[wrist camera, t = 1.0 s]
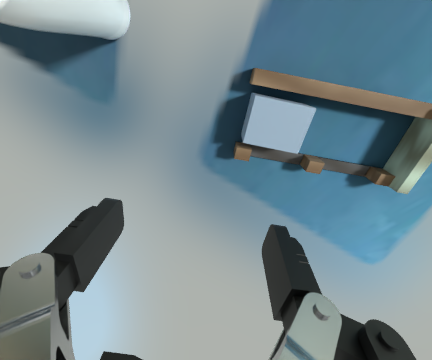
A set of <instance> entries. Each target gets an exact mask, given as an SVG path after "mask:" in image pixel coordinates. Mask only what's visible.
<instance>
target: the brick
mask: <svg viewBox="0 0 432 360" xmlns="http://www.w3.org/2000/svg"><path fill="white" fill-rule="evenodd" d="M315 111H316V108H314V107H312V106H309V105H306V104H303V103H299V102H294V101H289V100H285V99H280V98H275V97H271V96H266V95H261V94H257V93H251V97H250V101H249V105H248V109H247V113H246V117H245V121H244V125H243V128H242V132H241V137H242V141H243V143H246V144H251V145H256V146H261V147H266V148H271V149H276V150H281V151H286V152H291V153H296V154H298V152H299V150H300V147H301V145H302V142H303V140H304V137H305V135H306V133H307V130H308V128H309V125H310V123H311V120H312V118H313V116H314V113H315Z"/></svg>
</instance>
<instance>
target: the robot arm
mask: <svg viewBox="0 0 432 360" xmlns="http://www.w3.org/2000/svg"><path fill="white" fill-rule="evenodd" d="M123 227H124V216H123V206H122V201H121V200H116V199H110V198H105V199H103V200H102V201H101V202H100V204H99V205H98V206H97V207H96V206H92V207H90V208H88V209H86V210H84V211H83V212H81V213H80V214H79V215H78V216H77V217H76V218H75V220H74V221H72V222H71V223H70V224H69V225H68V227H66V228H65V229H64V230H63V231H62V232H61V233H60V234H59V235H58V236H57V237H56V238H55V239H54V240H53V241H52V242H51V243H50V244H49V245H48V246H47V247H46V248H45V249H44V250H43V251H42V252H41V253H35V254H31V255H28V256H26V257H23V258H21V259H19V260H18V261H16V262H14V263H13V264H12V265H11V266H9V267H1V268H0V360H75V358H74V353H73V348H72V339H71V324H70V312H69V311H70V310H69V300H68V298H69V297H70V295H71V294H72V292H73V291H79V292H84V291H85V289H86V288H87V286H88V284H89V283H90V281H91V280H92V278H93V277H94V275H95V274H96V272H97V270H98V269H99V267H100V266H101V264H102V263H103V261H104V260H105V258H106V256H107V255H108V253H109V252H110V250H111V249H112V247H113V245H114V244H115V242H116V241H117V239H118V238H119V236H120V234H121V233H122V230H123ZM262 258H263V264H264V269H265V274H266V280H267V285H268V291H269V296H270V302H271V307H272V312H273V318H274V320H279V321H282V322H283V326H284V330H283V331H282V333H281V335H280V337H279V339H278V341H277V343H276V345H275V347H274V349H273V351H272V353H271V355H270V358H269V360H416V358H415V357H414V355H413V353H412V352H411V350H410V348H409V347H408V345H407V344H406V342H405V341H404V339H403V338H402V337H401V336H400V335H399V334H398V333H397V332H396V331H395V330H394V329H393V328H391V327H390V326H389V325H387V324H385V323H384V322H381V321H379V320H374V319H373V320H369V321H368V322H367V323H365V324H361V323H359V322H357V321H355V320H353V319H351V318H348V317H346V316H344V315H342V314H340V313H339V311H338V309H337V308H336V306H335V305H334V304H333V303H332V302H331V301H330V300H329V299H328V298H326V297H325V296H323V295H322V293H321V291H320V289H319V286H318V284H317V282H316V279H315V277H314V274H313V272H312V269H311V267H310V265H309V264H308V263H309V262H308V260H307V257H305V253H304V250H303V248H302V246H301V245H300V243H299V242H298V241H297V240H296V239H295V238H292V237H290V235H289V232H288V230H287V228H286V227H285V226H279V225H273V224H272V225H270V227H269V230H268V232H267V235H266V237H265V240H264V243H263V246H262ZM100 360H142V359H140V358H138V357H136V356H134V355H127V354H120V353H112V352H105V351H104V352H103V354H102V356H101V359H100Z"/></svg>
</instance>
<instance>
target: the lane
mask: <svg viewBox="0 0 432 360" xmlns="http://www.w3.org/2000/svg"><path fill="white" fill-rule="evenodd" d="M250 83H251V84H254V85H259V86H264V87H269V88H274V89H279V90H285V91H290V92H295V93H300V94H305V95H310V96H315V97H320V98H325V99H330V100H335V101H340V102H345V103H350V104H355V105H360V106H365V107H370V108H375V109H380V110H385V111H390V112H395V113H400V114H405V115H410V116H415V119H414V120H413V122H412V124H411V125H410V127H409V128H408V130H407V131H406V133H405V135H404V136H403V138H402V139H401V141H400V142H399V144H398V146H397V147H396V149H395V150H394V152H393V153H392V155H391V157H390V158H389V160H388V161H387V163H386V164H385V166H384V168H383V169H382V168H376V167H371V166H370V167H369V166H365V165H360V164H355V163H349V162H344V161H338V160H333V159H328V158H322V157H317V156H311V155H306V154H304V155H303V154H301V153H298V154H296V153H291V152H286V151H281V150H276V149H271V148H266V147H261V146H256V145H251V146H250V144H246V143H241V142H236V144H235V148H234V159H240V160H245V161H249V158H250V156H254V157H260V158H265V159H270V160H276V161H281V162H287V163H292V164H298V165H299V164H300V165H301V166H302V167H303V169H304V170H305V171H306V172H311V173H317V174H320V173H321V171H322V169H325V170H331V171H336V172H342V173H347V174H353V175H358V176H365V177H366V178H368V179H369V180H370V181H372V182H373V183H374V184H378V185H383V186H389V187H390V188H392V189H393V190H394V191H396V192H399V193H404V194H408V193H409V191H410V190H411V189H412V187H413V186H414V185H415V183H416V182H417V181H418V179H419V178H420V177H421V175H422V174H423V173H424V171H425V170H426V169H427V167H428V166H429V165H430V163H431V162H432V104H431V103H426V102H421V101H416V100H411V99H406V98H401V97H396V96H391V95H386V94H381V93H376V92H372V91H367V90H362V89H357V88H352V87H347V86H342V85H337V84H332V83H327V82H322V81H317V80H312V79H307V78H302V77H297V76H293V75H288V74H283V73H278V72H273V71H268V70H263V69H258V68H253V70H252V74H251V79H250ZM302 157H303V158H302ZM301 159H302V160H301ZM300 162H301V163H300Z"/></svg>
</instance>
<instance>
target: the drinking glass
mask: <svg viewBox="0 0 432 360" xmlns="http://www.w3.org/2000/svg"><path fill="white" fill-rule="evenodd" d="M130 19H131V13H130V7H129V3H128V1H127V0H0V23H2V24H6V25H10V26H15V27H19V28H24V29H30V30H36V31H43V32H52V33H62V34H73V35H83V36H92V37H100V38H103V39H108V40H115V39H118V38H120V37H122V36H123V35H124V34H125V33H126V32H127V30H128V28H129V25H130Z"/></svg>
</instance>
